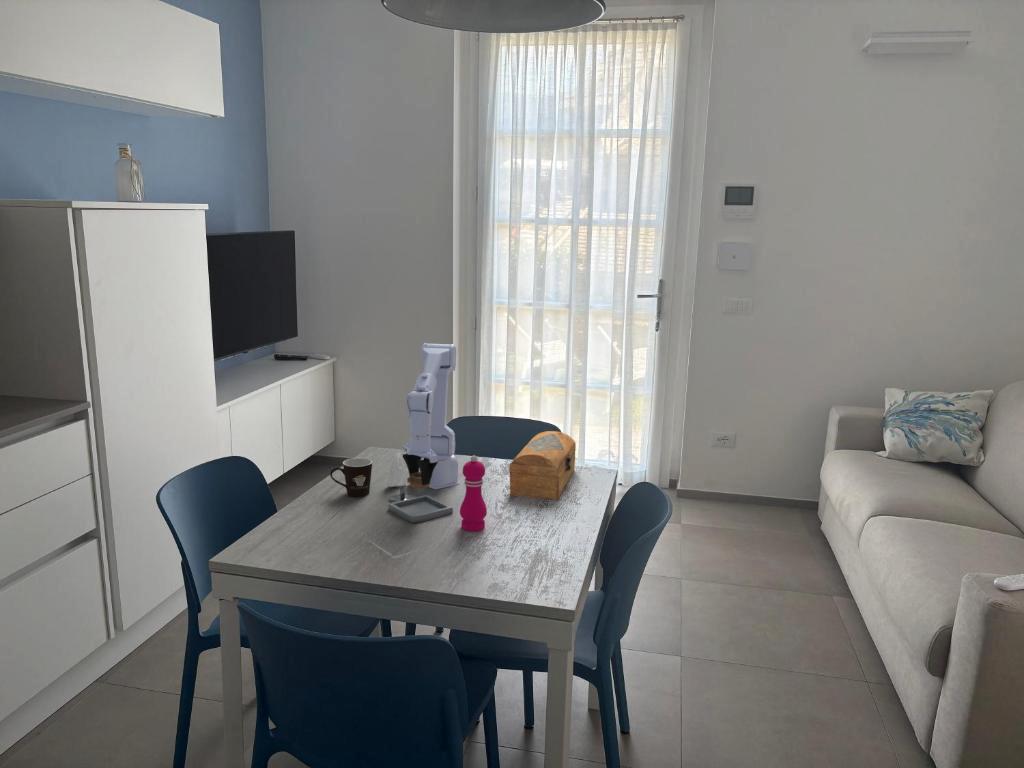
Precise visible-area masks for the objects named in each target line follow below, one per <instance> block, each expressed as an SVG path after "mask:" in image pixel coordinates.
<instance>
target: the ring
mask: <svg viewBox="0 0 1024 768" xmlns="http://www.w3.org/2000/svg"><path fill="white" fill-rule="evenodd" d="M431 478H432V476H431ZM406 479H407V483H408V484H409V487H410V488H412V489H417V490H418V489H419V490H421V489H427V488H430V487H429V486H430V484H426V485H423V484H422V481H421V472H415V473H411V474H410V475H409V477H407V478H406Z"/></svg>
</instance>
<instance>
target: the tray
mask: <svg viewBox="0 0 1024 768" xmlns="http://www.w3.org/2000/svg"><path fill="white" fill-rule="evenodd" d="M387 508H388V509H387V510H388V511H390V512H392V513H393V514H395V515H397V516H399V517H400V518H402V519H404V520H406V521H408V522H409V523H411V524H412V525H414V524H418V523H422V522H425V521H426V522H427V521H430V520H433V519H437V518H440V517H444V516H448V515H451V514H453V513H454V512H453V511H454V507H453V506H451V505H449V504H446V503H444V502H443V501H440V500H439V499H438V498H437V499H436V498H435V497H433V496H430V495H429V494H424V495H420V496H415V498H411V499H407V500H403V501H398V502H394V503H391V502H389V503H388V504H387Z"/></svg>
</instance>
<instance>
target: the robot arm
mask: <svg viewBox="0 0 1024 768" xmlns="http://www.w3.org/2000/svg"><path fill="white" fill-rule="evenodd" d="M420 360H421V363H422V364H423V371H422V373H420V374H419V375H418V376H417V378H416V381H415V385H414V387H413V389H412V391H411V392H409V393H408V394H407V398H406V410H407V418H408V419H409V442H408V443H407V442H406V443H404V444H402V451H403V452H406V453H404V454H402V460H404V463H405V464H406V466H407V471H408V475H409V476H410V474H411V473H415V472H419V468H420V472H421V481H422V484H423V485H426V484H430V486H429V487H428V488H429V489H432V490H435V491H436V490H440V489H444V488H447V487H452V486H457V485H460V482H459V462H458V459H457V457H456V456H455V453H456V452H455V451H456V433H455V431H454V430H453V429H452V428H451V427H449V426H448V425H447V415H448V413H447V412H448V399H449V398H448V395H449V393H448V392H449V376H450V373H452V372H455V370H456V367H457V366H456V365H457V348H456V346H455V344H453V343H452V344H447V343H446V344H444V343H443V344H441V343H428V342H424V343H422V346H421V351H420ZM421 457H422V459H423V460H421ZM431 476H432V478H431Z"/></svg>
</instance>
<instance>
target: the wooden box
mask: <svg viewBox="0 0 1024 768" xmlns="http://www.w3.org/2000/svg"><path fill="white" fill-rule="evenodd" d="M576 446H577V445H576V441H575V440H574V439H573V438H572V437H571V436H570V435H568V434H567V433H564V432H561V431H553V430H549V431H548V430H547V431H546V430H545V431H543V432H539V433H538V434H536V435H534V437H532V438H531V440H529V442H528V443H527V444H526V445H525V446H524V447H523V448H522V449H521V450H520V452H519V453H518V454H517V455H516V456H515V457H514V458H513V459H512V461H511V462H510V463H509V468H508V469H509V470H508V472H509V492H510V494H509V495H510V496H516V497H526V498H532V497H533V499H535V498H536V499H541V498H543V500H551V499H552V500H553V501H559V499H560V498H561V495H562V493H563V491H564V489H565V488H564V487H566V486H567V484H568V482H569V480H570V478H571V477H570V476H572V475H573V473H574V472H575V467H576V449H577V448H576ZM571 474H572V475H571ZM568 479H569V480H568ZM567 481H568V482H567ZM566 483H567V484H566ZM565 485H566V486H565ZM552 500H551V501H552Z"/></svg>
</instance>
